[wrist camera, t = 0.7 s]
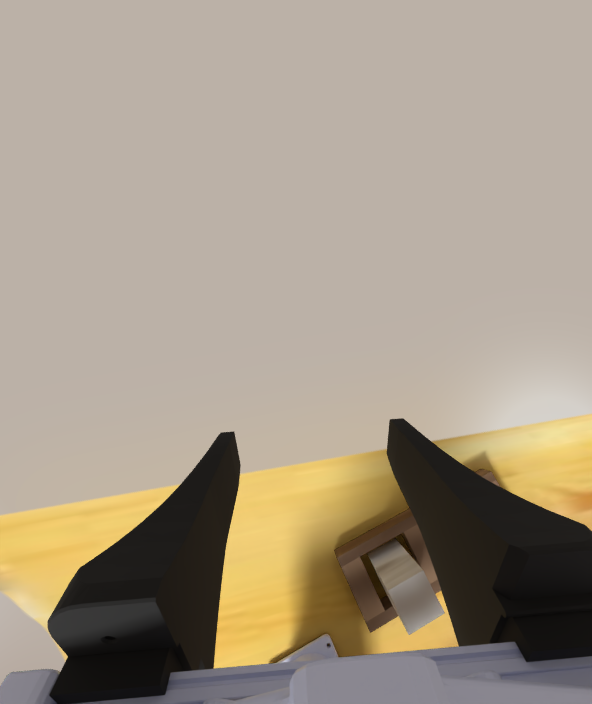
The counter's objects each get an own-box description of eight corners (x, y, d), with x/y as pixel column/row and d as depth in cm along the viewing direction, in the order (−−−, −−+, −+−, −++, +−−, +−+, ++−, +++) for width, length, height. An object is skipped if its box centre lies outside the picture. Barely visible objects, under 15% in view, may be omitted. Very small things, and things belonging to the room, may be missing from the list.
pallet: (517, 530, 37) (577, 560, 29) (365, 620, 34) (387, 679, 26) (481, 468, 38) (529, 481, 30) (334, 550, 36) (346, 586, 28)
